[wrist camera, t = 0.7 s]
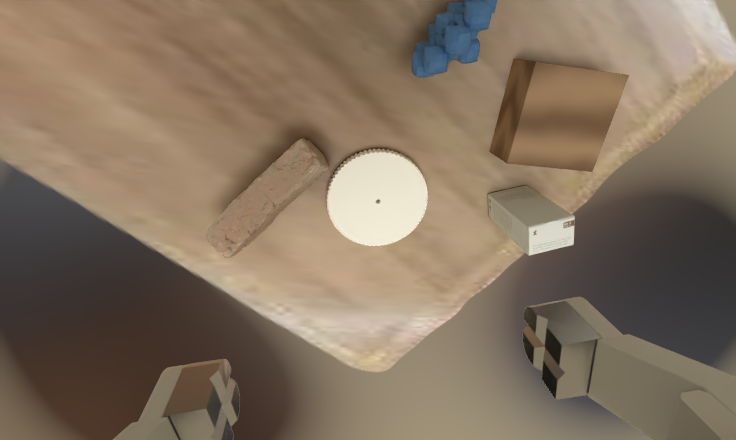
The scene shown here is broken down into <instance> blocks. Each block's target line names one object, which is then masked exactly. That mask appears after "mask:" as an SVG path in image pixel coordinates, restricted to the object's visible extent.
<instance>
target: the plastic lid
mask: <svg viewBox="0 0 736 440" xmlns="http://www.w3.org/2000/svg"><path fill="white" fill-rule="evenodd" d="M334 173H335V174H334V175H332V178H331V179H330V183H329V187H328V191H327V209H328V214H329V217H330V218H331V221H333V225H335V228H338V231H340V232H341V234H343V235H344V237H347V239H351V241H354V242H355V243H357V242H358V244H362V245H367V246H369V245H371V246H373V245H375V246H377V245H379V246H382V245H386V244H388V245H389V244H390V243H394V242H395V241H396V242H397V241H398V240H401V239H402V238H405V236H406V235H409V233H411V232H412V230H414V229H415V227H417V226H418V223H420V220H422V216H424V212H426V210H425V208H427V205H426V204H428V202H427V200H428V197H427V196H428V193H427V191H428V189H427V185H426V181H425V180H424V177H423V176H422V173H421V172H420V170H419V169H418V168H417V166H416V165H415V164H414V163H413V162H412V161H410V159H409V158H406V156H403V155H402V154H401V153H400V154H398V152H394V151H393V150H391V151H389V149H387V150H385V149H382V150H380V149H377V150H375V149H373V150H371V149H369V150H368V151H366V150H364V152H359V154H357V153H356V154H355V156H353V155H352V156H351V158H348V159H347V161H344V162H343V164H341V165H340V167H338V168H337V171H335V172H334Z"/></svg>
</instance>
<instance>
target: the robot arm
mask: <svg viewBox="0 0 736 440" xmlns="http://www.w3.org/2000/svg"><path fill="white" fill-rule="evenodd" d="M524 320H525V321H526V323H527V324H528V326H527V327H526V328H525V330H524V331H523V345H524V349H525V352H526V355H527V357H528V359H529V361H530V362H531V363H532V365H533V366H534V367H536V368H538V369H539V370H541V371H542V380H543V382H544V383H545V385H546V386H547V388H548V389H549V391H550V392H551V394H552V395H553V397H554V398H555V399H556V400H557V399H564V398H570V397H576V396H583V395H588V396H589V397H590V398H591V399H593V400H594V401H596V402H597V403H599V404H600V405H602V406H603V407H605V408H606V409H608V410H609V411H611V412H612V413H614V414H615V415H617V416H618V417H620V418H621V419H623V420H624V421H626V422H627V423H629V424H630V425H632V426H633V427H635V428H637V429H638V430H639V431H641V432H643V433H644V434H645V435H647V436H648V437H650V438H651V439H653V440H736V377H735V376H732V375H730V374H727V373H725V372H722V371H720V370H717V369H715V368H712V367H710V366H707V365H705V364H702V363H700V362H697V361H695V360H692V359H689V358H687V357H685V356H682V355H679V354H677V353H674V352H672V351H669V350H667V349H664V348H662V347H659V346H657V345H654V344H652V343H649V342H647V341H644V340H642V339H639V338H637V337H634V336H632V335H629V334H628V335H622V334H621V333H620V332H619V331H618V330H617V329H616V328H615V327H614V326H613V325H612V324H611V323H610V322H609V321H608V320H606V318H604V317H603V316H602V315H601V314H600V313H599V312H598V311H597V310H596V309H595V308H594V307H593V306H592V305H591V304H590V303H589V302H588V301H587V300H585V299H584V298H582V297H575V298H570V299H565V300H562V301H556V302H550V303H545V304H539V305H533V306H528V307H526V309H525V311H524ZM230 373H231V368H230V365H229V363H228V360H225V359H220V360H213V361H206V362H200V363H193V364H187V365H182V366H175V367H168V368H167V369H165V370H164V371H163V372H162V374H161V376H160V378H159V381H158V382H157V384H156V386H155V388H154V390H153V392H152V394H151V397H150V399H149V401H148V403H147V405H146V407H145V409H144V411H143V413H142V415H141V417H140V419H139V421H138V422H135V423H131V424H130V425H129V426H128V427H127V428H126V429H124V430H123V431H122V432H121V433H120V434H119V435H118V436H116V437H115V438H114V439H113V440H233V437H234V434H233V432H232V429H231V426H232V425H233V424H234V423H235V422H236V421H237V419H238V414H239V409H240V396H239V390H238V387H237V384H236V382H235V381H234V380H232V379H231V378H229V376H230Z"/></svg>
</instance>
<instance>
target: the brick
mask: <svg viewBox="0 0 736 440" xmlns="http://www.w3.org/2000/svg"><path fill="white" fill-rule="evenodd" d="M328 169H329V165H328V163H327V162H326V159H325V157H324V155H323V154H322V153H321V152H320V150H318V149H317V148H316V147H315V146H314V145H313V144H312V142H311V141H309V140H305V138H302V139H299V140H298V141H297V142H295V143H294V144H293V145H292V146H291V147H290V148H289V149H288V150H287V151H286V152H285V153H284V154H283V155H282V156H281V157H280V158H278V159H277V160H276V161H275V162H274V163H272V164H271V165H270V166H269V167H268V168H267V169H266V170H265V171H264V172H263V173H262V174H261V175H259V176H258V177H257V178H256V179H255V180H254V181H253V182H252V183H251V184H250V185H249V187H248V188H247V190H244V191H243V192H242V193H241V194H240V195H239V196H237V197H236V198H235V199H234V200H233V201H232V202H231V203H230V205H229V206H228V207H227V209H225V210H224V211H223V212H222V214H221V215H220V216H219V217H218V218H217V220H216V221H215V222H214V223H213V225H212V226H211V227H210V228H209V229H208V231H207V234H206V237H207V239H208V241H209V242H210V243H211V245H212V246H213V247H214V248H215V249H216V250H217V251H218V252H222V255H223V256H224V257H225V258H230V257H232V256H234V255H236V254H237V253H238V252H239V251H241V250H242V249H243V248H244V247H246V246H247V245H249V244H250V243H251V242H252V241H253V240H254V239H255V238H256V237H257V236H258V235H259V234H260V233H262V232H263V231H264V230H265V229H266V228H267V227H268V226H269V225H270V224H271V223H272V222H273V220H274V219H275V218H276V217H277V215H278V214H279V212H281V211H283V210H284V208H285V207H287V206H288V205H289V204H290V203H291V202H292V201H293V200H294V199H295V198H297V197H298V196H299V195H301V194H302V193H303V192H304V191H305V190H306V189H308V188H309V187H310V186H311V184H312V183H313V181H315V180H317V179H318V177H319V176H320V175H322V174H323V173H325V172H326V171H327V170H328Z"/></svg>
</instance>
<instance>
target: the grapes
mask: <svg viewBox="0 0 736 440" xmlns="http://www.w3.org/2000/svg"><path fill="white" fill-rule="evenodd" d="M496 4H497V0H463V1H458V2H450V3H447V8H446V13H440V14H437V16H436V22H435V23H431V24H429V25H428V31H427V41H422V42H417V43H415V48H414V53H413V57H412V72H413V74H414V75H415V76H417V77H419V78H425V77H429V76H433V75H434V74H439V73H443V72H447V68H448V62H449V61H451V60H455V59H457V60H458V61H459V62H461V63H472V62H476V61H477V60H478V56H479V52H480V43H479V40H478V39H477V38H476V37H477V34H478V33H477V32H479V31H481V30H486V29H488V28H489V24H490V20H491V14H492V13H494V11H495V8H496Z"/></svg>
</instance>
